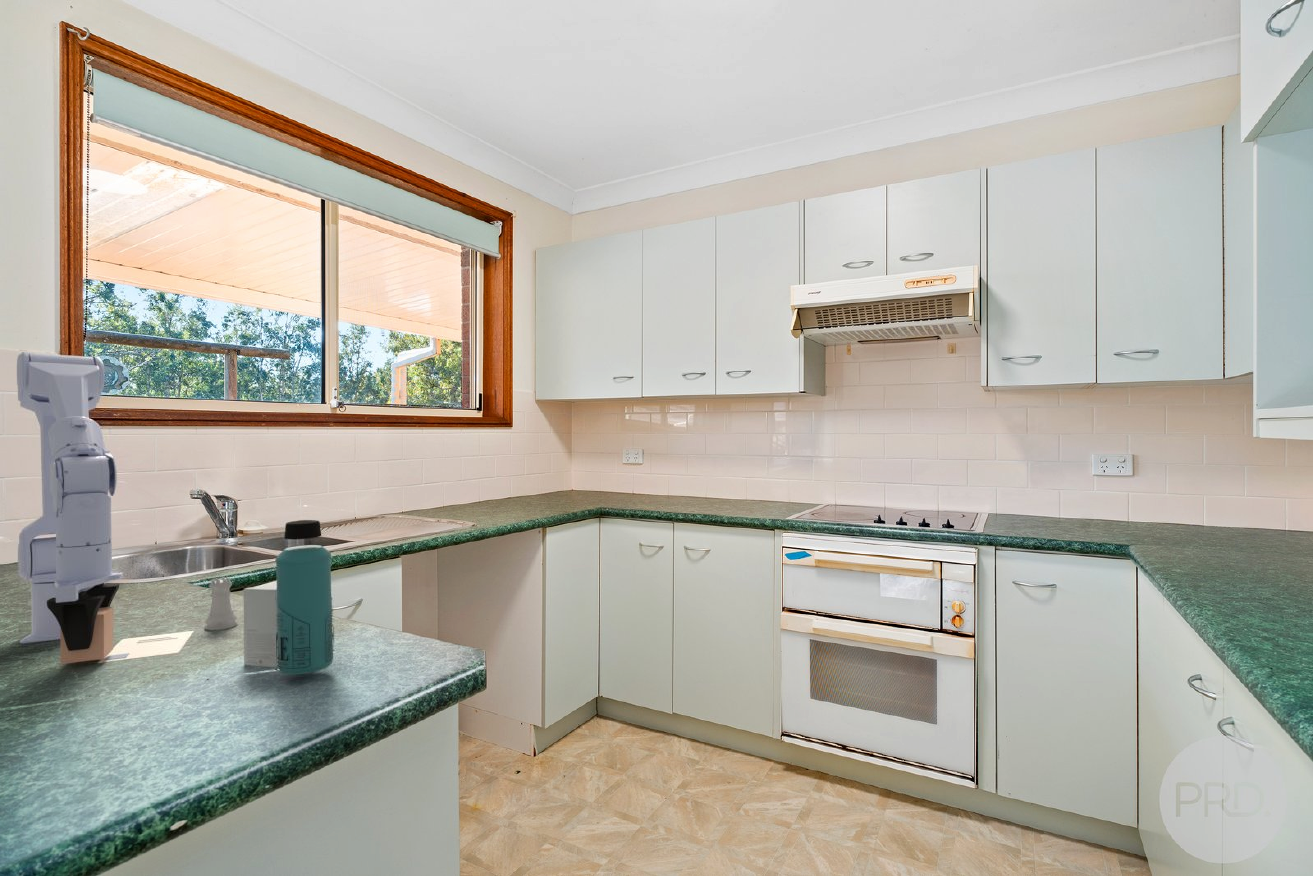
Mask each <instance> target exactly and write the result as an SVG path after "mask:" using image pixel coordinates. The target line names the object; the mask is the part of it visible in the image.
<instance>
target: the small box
mask: <svg viewBox="0 0 1313 876" xmlns="http://www.w3.org/2000/svg"><path fill="white" fill-rule="evenodd" d="M276 588H277V580H273V581H269V582H267V583H263V584H261V585H256V586H252V587H246V588H243V665H244V666H253V667H255V666H256V667H267V668H269V667H270V668H278V663H277V662H278V659H277V658H278V648H277V656H276V635H277V629H276V628H277V615H276V614H277V600H276V599H277V589H276ZM277 647H278V641H277Z"/></svg>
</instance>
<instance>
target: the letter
mask: <svg viewBox="0 0 1313 876" xmlns="http://www.w3.org/2000/svg"><path fill="white" fill-rule="evenodd" d="M194 632H195V631H194V630H190V631H181V632H172V633H164V634H156V635H149V636H148V635H147V636H139V637H131V638H129V637H128V638H123V639H121V640H120V641H119V642H118V643H117V644H115V646H113V650H112V651H111V652H110V653H109V654H108V655H107V656H106V657H105V658H104V659H99V661H98V662H97V664H102V663H103V664H104V663H110V662H119V661H124V660H132V659H133V660H134V659H141V658H148V657H157V656H163V655H164V656H165V655H166V656H167V655H173V654H178V653H179V652H181V650H182V648H183V647H184V646H185V645H186V643H187V642H188V640H189V639H190V637H192V635H193V633H194Z"/></svg>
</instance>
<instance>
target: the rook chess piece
mask: <svg viewBox="0 0 1313 876" xmlns="http://www.w3.org/2000/svg"><path fill="white" fill-rule="evenodd" d="M210 580H211V581H210V584H209V585H208V588H210V590H211V594H210V597H211V606H210V610H209V613H208V614H207V615H208V616H207V617H206V619H204V620H205V621H204V623H205V624H206V625H205V626H204V629H205V631H220V630H226V629H230V628H233V627H235V626H237V625H238V622H237V621H236V620H237V618H238V617H237V615H236V614H235V613H234V612H235V611H234V610H233V609H232V605H231V597H230V596H231V594H232V592H231V591H230V588H231V587H232V585H233V582H232V581H231V578H230V577H228V576H227V577H225V576H222V577H220V578H219V577H216V578H212V579H210Z"/></svg>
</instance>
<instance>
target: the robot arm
mask: <svg viewBox="0 0 1313 876" xmlns="http://www.w3.org/2000/svg"><path fill="white" fill-rule="evenodd" d="M16 359H17V360H16V384H17V399H18V402H19V403H20V407H21V408H24V409H25V410H29V411H31V412H34V414H35V416H36V419H37V421H38V423H39V428H40V430H39V431H40V460H41V468H40V469H41V494H42V495H41V498H42V500H41V501H42V516H40V517H39V518H38V519H36V520H34V521H32V522H30V523H29V524H28V525H26V526H25V527H24V528H22V529H21V531H20V532H19V535H18V538H19V539H18V545H17V546H18V547H17V566H18V567H17V568H18V575H19V578H21V579H23V580H24V581H26V580H28V581H29V582H30V592H31V593H30V598H31V600H30V601H31V602H30V604H31V607H30V609H31V611H30V612H31V615H30V616H31V619H30V620H31V633H29V634H28V635H27V636H25V637H24V638H22V639H20V640H19V644H26V643H27V644H28V643H36V642H46V641H47V642H48V641H55V640H60V628H61V630H62V633H63V636H64V640H65V643H66V646H67V648H68V650H69V651H74V650H82V649H88V648H89V647H90V645H91V642H92V638H93V631H94V624H95V619H96V615H97V612H98V610H99V608H105V607H111V605H112V602H113V600H114V598H115V595H116V594H117V592H118V591H119V588H120V583H115V582H111V581H116V580H121V579H122V578H123V577H124V573H123V572H113V565H112V564H113V560H112V557H113V555H112V552H113V551H112V550H113V548H112V497H113V496H114V495H115V492H116V488H117V484H118V483H117V482H118V476H117V475H118V474H117V473H118V472H117V466H116V462H115V458H114V456H113V454H111V452H110V451H109V450H106V445H105V441H104V437H103V433H102V432H103V431H102V428H101V426H100V424H99V423H98V422H97V421H95V420H94V419H91V418H90V416H89V415H90V414H89V413H90V412H89V411H92V410H94V409H96V408H97V404H98V403H100V399H101V396H102V392H103V391H104V388H105V373H106V372H105V365H104V364H105V363H104V362H103V360H102V359H101V358H100V357H99V356H98V355H97V356H96V355H95V356H94V355H93V356H82V355H81V356H79V355H65V354H63V355H62V354H52V353H51V354H50V353H35V352H33V353H31V352H28V351H22V352H21V353H20V354H18V355H17V357H16ZM108 494H109V495H110V496H109V495H108ZM47 535H55V536H50V537H41V538H37V537H39V536H47ZM108 582H111V583H108Z"/></svg>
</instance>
